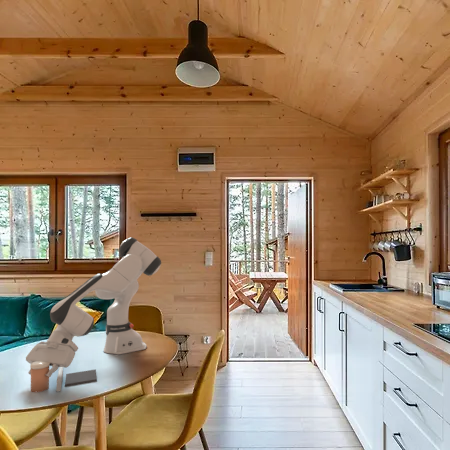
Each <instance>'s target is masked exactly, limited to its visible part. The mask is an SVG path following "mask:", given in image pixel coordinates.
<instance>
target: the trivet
mask: <svg viewBox="0 0 450 450" xmlns="http://www.w3.org/2000/svg"><path fill="white" fill-rule="evenodd" d="M64 381H65V382H64V387H70V386H76V385H82V384H87V383H95V382H97V381H98V377H97V369H90V370H82V371H77V372H71V373H65V380H64Z"/></svg>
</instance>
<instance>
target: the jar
mask: <svg viewBox="0 0 450 450" xmlns="http://www.w3.org/2000/svg"><path fill="white" fill-rule="evenodd" d="M49 365H50V362H42V361H36V362H33V363H31V364H30V369H31V375H30V392H31V393H40V392H45V391H47V390H48V389H49V388H50V377H46V376H45V374H46V372H47V371H49V370H50V366H49Z"/></svg>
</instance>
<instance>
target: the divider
mask: <svg viewBox="0 0 450 450" xmlns="http://www.w3.org/2000/svg"><path fill="white" fill-rule="evenodd" d="M56 377H57V378H56V390H55V391H56V392H61V391H62V386H63V378H64V367H59V368H58V373H57V376H56Z"/></svg>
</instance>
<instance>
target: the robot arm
mask: <svg viewBox="0 0 450 450" xmlns="http://www.w3.org/2000/svg"><path fill="white" fill-rule="evenodd" d="M118 252H119V253H118V254H119V255H120V256H119V257H120V258H121V259H120V260H118V261H117V262H116V263H115V264H114V265H113V266H112V268H110V269H109V270H107V271H106V272H104V273H97V274H95V275H93V276H91V277H90V278H88V279H87V280H86V281H85V282H84V283H82V284H81V285H80V286H78V287H77V288H76V289H75V290H73V291H72V292H71V293H70V294H68V295H67V296H65V297H64V298H62V299H61V300H60V301H58V302H57V303H55V305H53V306H52V308H51V310H50V312H49V316H50V317H49V318H50V320H51V321H50V322H52V323H54V324H56V325H57V326H56V328H55V329H54V330H53V331H52V332H51V334H50V336H49V337H48V338H47V340H46V341H40V342H38V343H36V345H35V346H34V347H33V348H31V349H30V351H29V352H28V354H27V355H26V357H25V361H26V362H27V363H28V364H30V365H31V363H33V362H36V361H42V362H50V365H49V367H51V368H49V371H47V372H46V374H45V376H46V377H49V378H51V377H52V376H53V374H54V373H55V372H56V371H58V370H59V367H63V368H68V367H69V366H71V364H72V363H73V361H74V358H75V357H76V352H78V350H79V347H78V345H77V344H76V343H75V342H74V341H73V339H74V337H79V338H80V337H84V336H87V335H89V334H90V332H91V331H92V329H93V327H94V324H95V319H94V317H93V316H92V315H90V313H88V312H87V311H84V310H83V308H81V307H79V306H78V305H76V304H77V303H79V302H80V301H81V300H82V299H84V298H85V297H86V296H87V295H89V294H90V293H91V292H95V296H96V297H97V298H98V299H101V300H112V299H114V301H113V303H112V304H111V305H109V307H108V308H107V310H106V324H105V335H106V338H105V343H104V348H103V352H104V353H107V354H112V355H113V354H114V355H123V354H128V353H134V352H138V351H142V350H146V349H147V343H145V342H144V341H143V338H142V335H141V334H140V333H138V332H137V330H134V329H133V328H134V324H133V323H132V322H130V321H129V307H130V306H131V305H130V304H131V301H132V299H133V297H134V296H135V295H136V293H137V292H138V290H139V288H140V284H139V281H138V279H139V278H140V277H141V275H142V274H144V275H145V276H149V277H150V276H153V275H155V274H156V273H157V272H158V271H159V270H160V268H161V265H162V259H161V258H160V257H159V256H158V255H156V253H154V252H153V250H151V249H150V248H149V247H147V246H146V245H145V244H143V243H141V242H140V241H138V239H136V238H134V237H128V238H126V239H125V240H123V241H122V242H121V244H120V246H119V248H118ZM27 373H28V374H29V375H30V376H31V368H30V370H29V371H28V372H27Z"/></svg>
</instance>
